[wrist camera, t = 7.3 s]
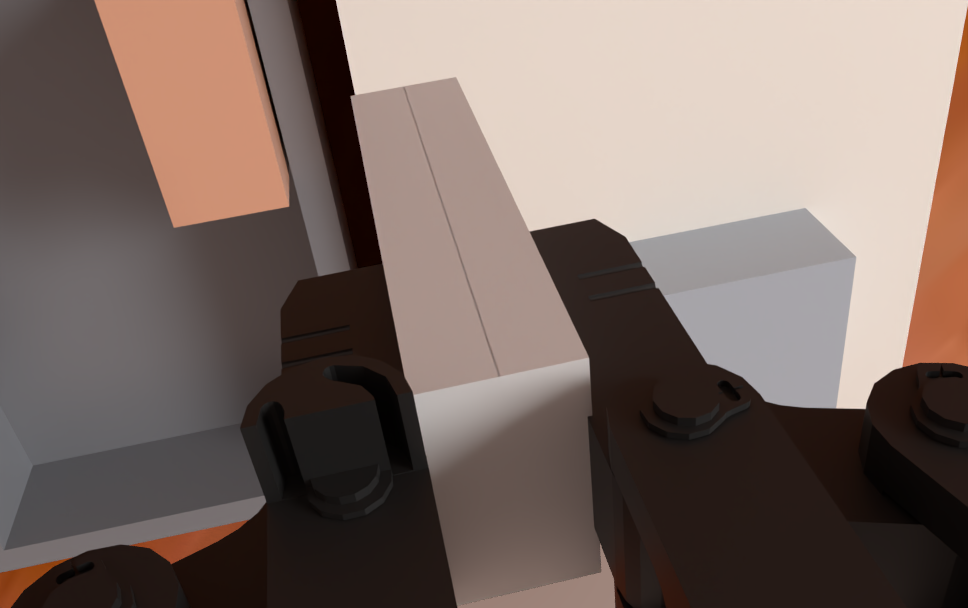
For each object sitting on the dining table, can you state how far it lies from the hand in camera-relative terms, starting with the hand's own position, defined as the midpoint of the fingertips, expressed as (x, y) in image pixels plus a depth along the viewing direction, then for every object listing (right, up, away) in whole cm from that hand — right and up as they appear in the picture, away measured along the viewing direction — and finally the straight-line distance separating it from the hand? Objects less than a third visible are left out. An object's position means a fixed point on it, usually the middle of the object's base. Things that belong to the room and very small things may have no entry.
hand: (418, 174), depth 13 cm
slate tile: (+7, -2, +11) cm, 13 cm away
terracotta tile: (-4, +4, +7) cm, 9 cm away
